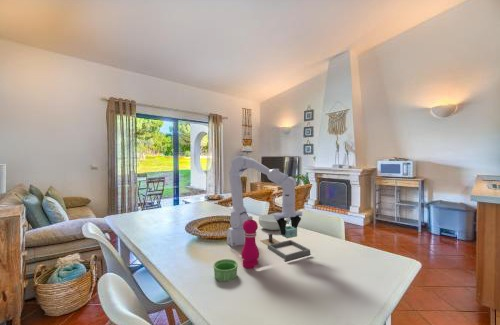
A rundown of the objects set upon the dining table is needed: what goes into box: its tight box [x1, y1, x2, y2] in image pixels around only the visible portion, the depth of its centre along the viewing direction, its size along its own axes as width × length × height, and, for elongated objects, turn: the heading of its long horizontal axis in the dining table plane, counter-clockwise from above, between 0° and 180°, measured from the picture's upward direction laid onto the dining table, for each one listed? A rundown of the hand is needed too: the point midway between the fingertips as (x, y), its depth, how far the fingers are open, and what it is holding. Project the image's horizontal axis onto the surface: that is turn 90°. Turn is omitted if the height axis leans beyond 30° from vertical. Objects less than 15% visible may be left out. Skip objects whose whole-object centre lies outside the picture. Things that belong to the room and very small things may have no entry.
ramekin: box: [212, 258, 239, 282], centre depth 85 cm, size 9×9×4 cm
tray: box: [267, 239, 311, 263], centre depth 105 cm, size 14×14×3 cm
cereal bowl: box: [258, 214, 287, 231], centre depth 140 cm, size 17×17×7 cm
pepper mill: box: [240, 215, 260, 270], centre depth 93 cm, size 7×7×20 cm
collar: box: [279, 225, 298, 239], centre depth 105 cm, size 6×7×4 cm
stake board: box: [259, 233, 280, 247], centre depth 116 cm, size 8×8×5 cm
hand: (288, 233), depth 105 cm, fingers closed on collar, 6 cm apart
